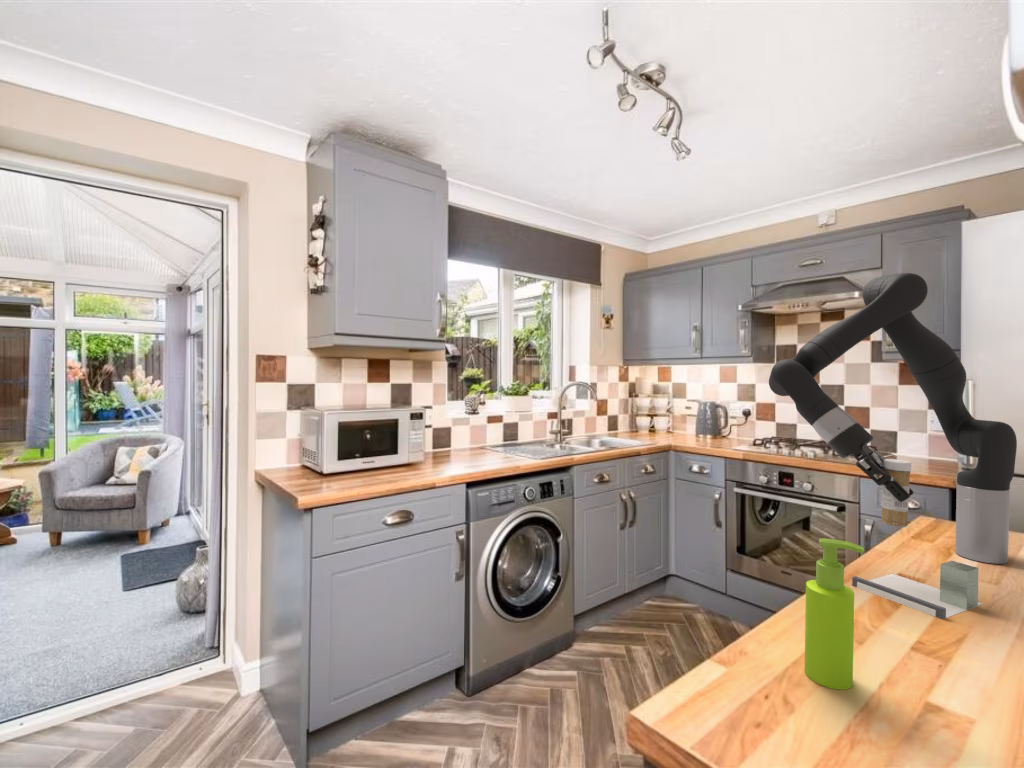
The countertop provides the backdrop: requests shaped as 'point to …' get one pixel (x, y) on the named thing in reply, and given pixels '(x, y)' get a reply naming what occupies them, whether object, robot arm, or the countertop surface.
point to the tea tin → (959, 584)
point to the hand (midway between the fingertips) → (907, 497)
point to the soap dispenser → (830, 620)
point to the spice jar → (891, 507)
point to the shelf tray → (909, 594)
